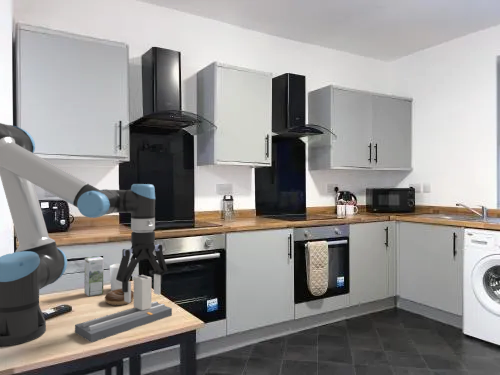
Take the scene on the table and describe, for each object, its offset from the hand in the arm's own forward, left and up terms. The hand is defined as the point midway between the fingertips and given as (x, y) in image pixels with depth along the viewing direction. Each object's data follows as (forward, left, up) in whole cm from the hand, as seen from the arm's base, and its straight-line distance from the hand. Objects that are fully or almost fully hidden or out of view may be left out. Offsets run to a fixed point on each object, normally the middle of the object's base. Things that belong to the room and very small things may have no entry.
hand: (142, 297), depth 122 cm
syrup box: (-37, +2, -7) cm, 38 cm away
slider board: (0, -6, -7) cm, 9 cm away
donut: (-21, +4, -7) cm, 23 cm away
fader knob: (0, 0, -4) cm, 4 cm away
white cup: (-35, +12, -7) cm, 38 cm away
